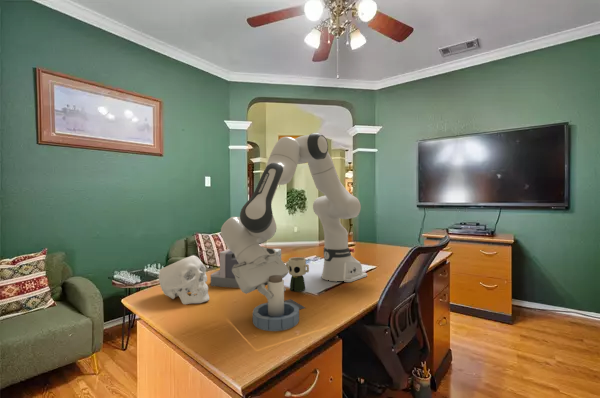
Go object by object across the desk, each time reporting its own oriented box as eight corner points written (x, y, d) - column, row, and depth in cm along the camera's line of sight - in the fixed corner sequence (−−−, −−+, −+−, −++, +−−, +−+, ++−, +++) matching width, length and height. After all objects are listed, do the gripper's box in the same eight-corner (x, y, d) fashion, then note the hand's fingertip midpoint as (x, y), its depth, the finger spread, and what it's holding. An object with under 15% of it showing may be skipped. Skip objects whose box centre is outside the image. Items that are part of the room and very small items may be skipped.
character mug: (281, 290, 116) (281, 259, 116) (291, 285, 122) (290, 255, 122) (304, 295, 111) (304, 262, 111) (313, 289, 117) (312, 258, 117)
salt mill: (279, 308, 91) (278, 273, 91) (287, 314, 87) (286, 277, 87) (265, 312, 88) (264, 276, 88) (272, 317, 84) (272, 280, 84)
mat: (290, 300, 105) (290, 299, 105) (305, 308, 97) (305, 307, 97) (266, 306, 100) (266, 304, 100) (280, 315, 92) (280, 314, 92)
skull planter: (196, 305, 96) (177, 253, 100) (162, 322, 105) (146, 273, 109) (224, 292, 109) (207, 247, 113) (192, 309, 117) (177, 266, 121)
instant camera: (232, 273, 145) (232, 244, 144) (268, 277, 137) (268, 246, 137) (204, 285, 125) (203, 251, 125) (244, 290, 117) (244, 254, 117)
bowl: (284, 309, 97) (284, 298, 97) (307, 324, 85) (307, 312, 85) (246, 318, 90) (246, 307, 90) (265, 337, 78) (265, 324, 78)
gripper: (234, 259, 82) (261, 299, 77) (277, 248, 100) (301, 280, 94) (224, 272, 85) (249, 312, 80) (267, 259, 102) (290, 291, 97)
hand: (277, 294), depth 87 cm, fingers closed on salt mill, 5 cm apart
